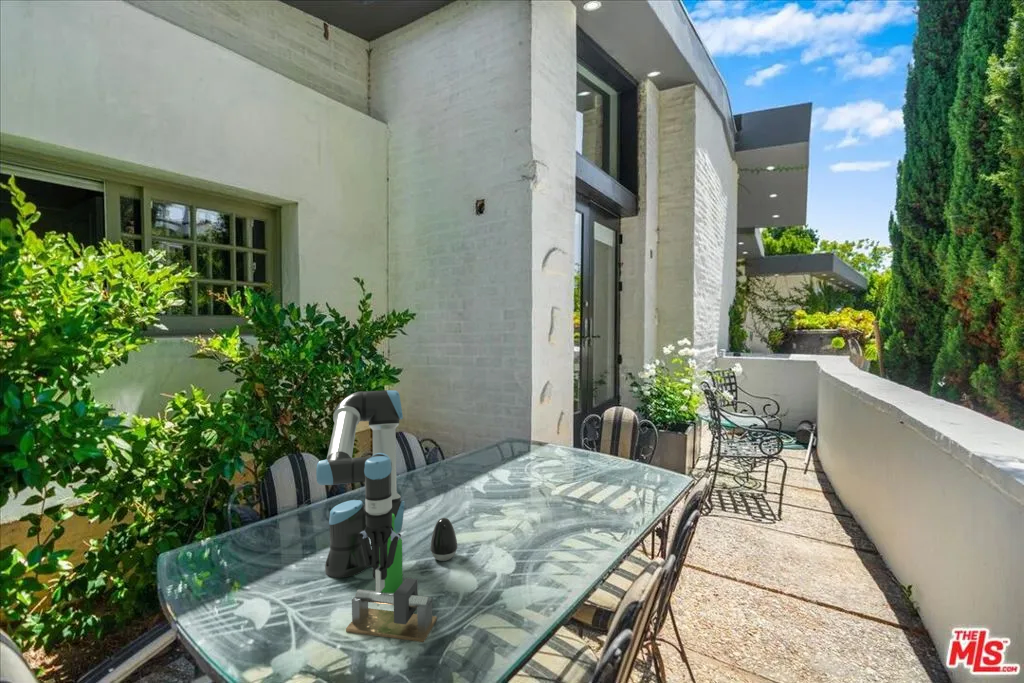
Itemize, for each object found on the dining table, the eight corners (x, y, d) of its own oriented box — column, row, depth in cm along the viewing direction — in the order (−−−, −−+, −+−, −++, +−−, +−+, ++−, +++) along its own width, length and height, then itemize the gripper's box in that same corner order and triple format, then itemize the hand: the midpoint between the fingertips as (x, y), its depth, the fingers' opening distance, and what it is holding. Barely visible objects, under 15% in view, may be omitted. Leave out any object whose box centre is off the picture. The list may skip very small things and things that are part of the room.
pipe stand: (345, 631, 130) (345, 599, 130) (364, 610, 140) (363, 580, 140) (423, 642, 125) (423, 608, 125) (436, 619, 135) (436, 588, 135)
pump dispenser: (432, 566, 166) (431, 525, 166) (429, 553, 176) (428, 514, 176) (459, 562, 169) (458, 522, 169) (455, 549, 179) (454, 511, 179)
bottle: (405, 580, 157) (404, 509, 157) (399, 595, 148) (398, 519, 148) (379, 581, 157) (378, 510, 156) (372, 596, 148) (371, 520, 148)
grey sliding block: (394, 623, 128) (393, 593, 128) (406, 605, 136) (406, 577, 136) (405, 624, 127) (405, 595, 127) (417, 606, 136) (417, 579, 135)
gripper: (351, 514, 131) (353, 594, 131) (393, 517, 128) (395, 599, 129) (365, 504, 138) (366, 580, 139) (404, 507, 135) (406, 584, 136)
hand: (380, 589), depth 134 cm, fingers closed
